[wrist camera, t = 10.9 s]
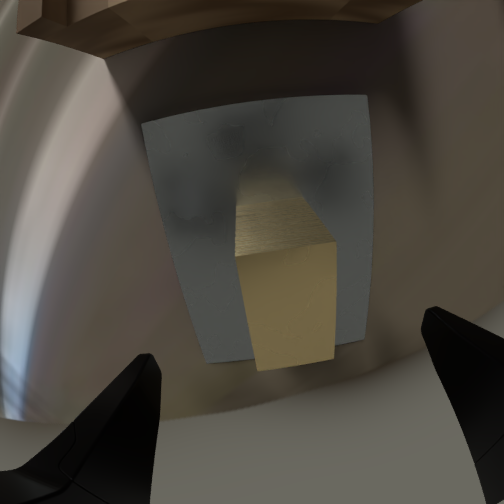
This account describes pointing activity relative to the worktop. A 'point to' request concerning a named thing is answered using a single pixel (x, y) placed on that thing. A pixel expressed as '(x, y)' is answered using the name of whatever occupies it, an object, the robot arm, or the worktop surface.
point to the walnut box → (175, 18)
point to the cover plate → (257, 172)
